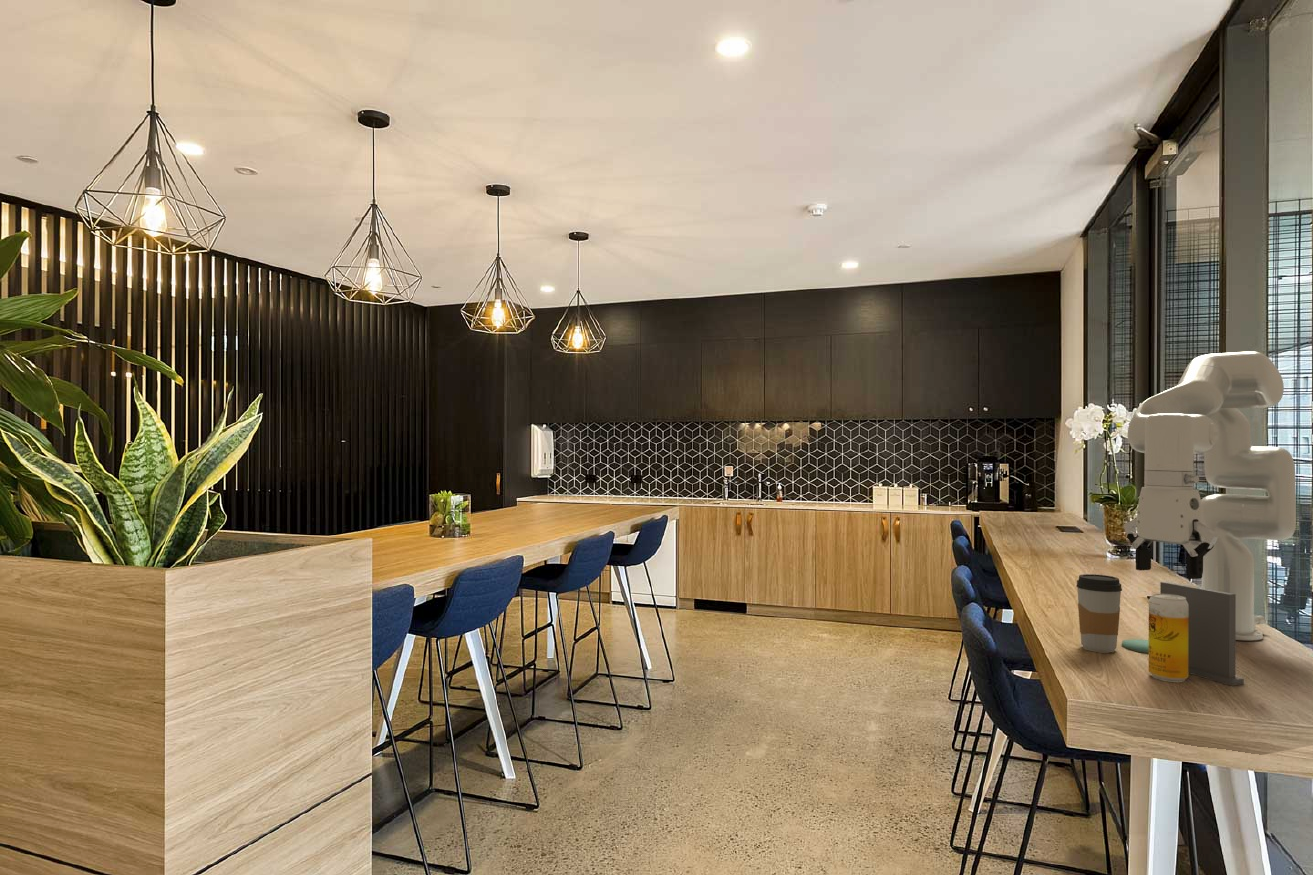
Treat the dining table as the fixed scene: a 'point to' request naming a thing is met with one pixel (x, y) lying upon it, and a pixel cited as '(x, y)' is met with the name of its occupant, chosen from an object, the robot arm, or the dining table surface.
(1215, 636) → the screen
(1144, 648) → the coaster
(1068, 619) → the dining table surface
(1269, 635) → the dining table surface
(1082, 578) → the coffee cup
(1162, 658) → the beer can
